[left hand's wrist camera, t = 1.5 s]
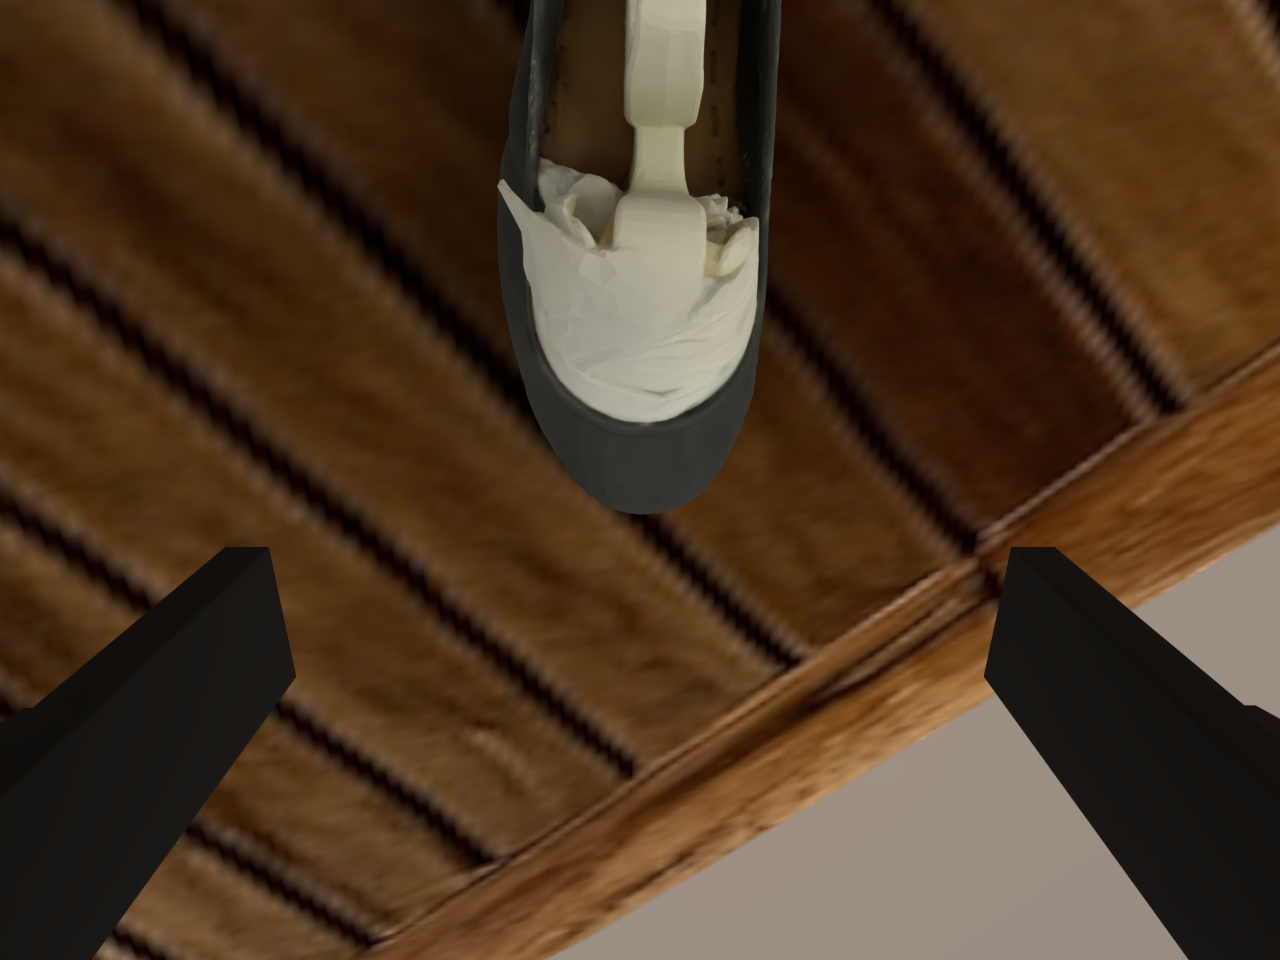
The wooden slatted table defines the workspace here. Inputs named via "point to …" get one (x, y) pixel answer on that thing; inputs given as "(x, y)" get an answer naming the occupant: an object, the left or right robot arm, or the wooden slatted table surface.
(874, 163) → the wooden slatted table surface
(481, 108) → the wooden slatted table surface
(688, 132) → the ballet flat
